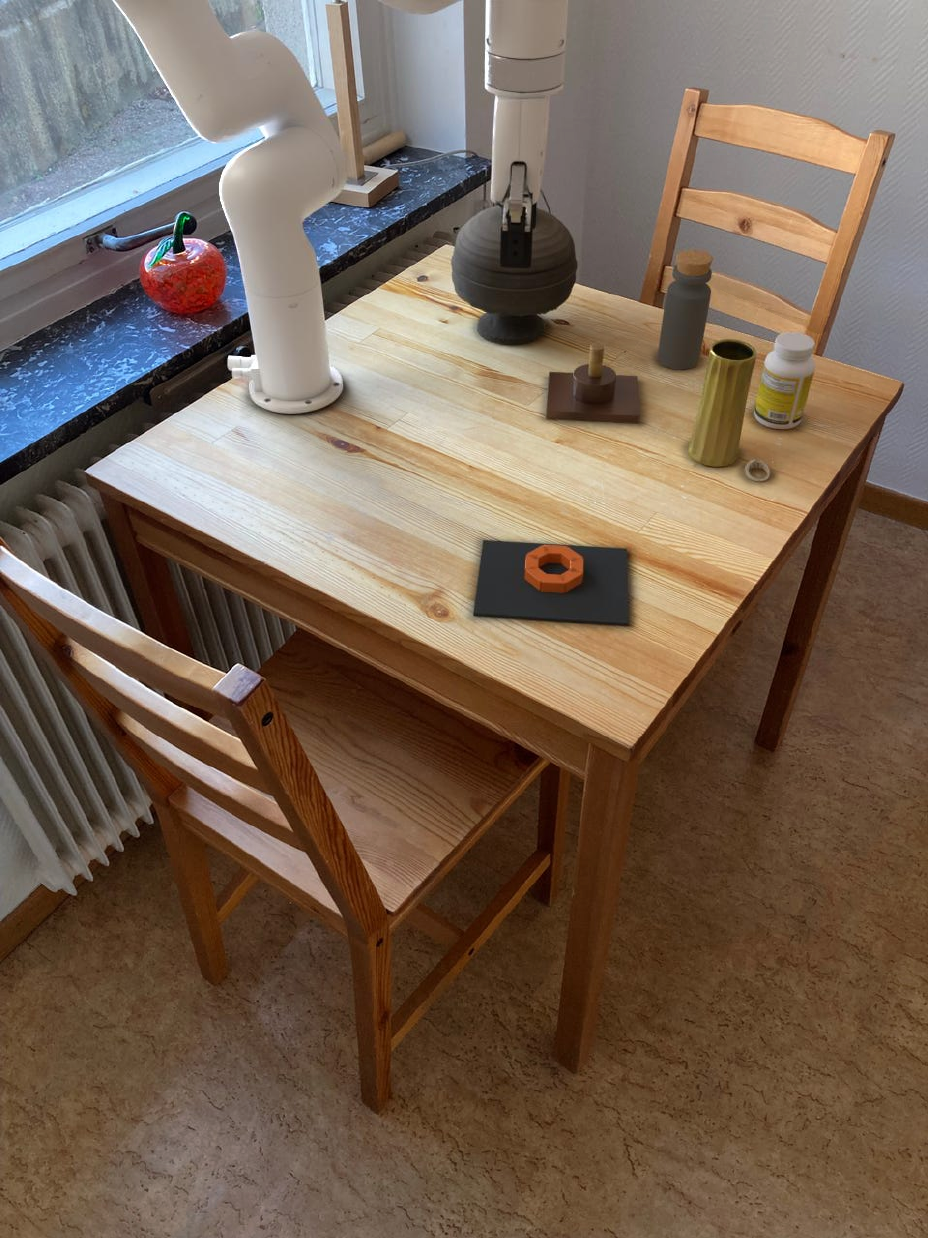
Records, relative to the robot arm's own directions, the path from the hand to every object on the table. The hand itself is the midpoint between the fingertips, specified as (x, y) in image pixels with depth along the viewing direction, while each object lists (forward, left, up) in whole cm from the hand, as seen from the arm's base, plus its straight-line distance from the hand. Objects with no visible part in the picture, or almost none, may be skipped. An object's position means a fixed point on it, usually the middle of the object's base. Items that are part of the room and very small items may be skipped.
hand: (518, 246), depth 106 cm
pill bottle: (+34, +11, -26) cm, 44 cm away
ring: (+30, -2, -26) cm, 40 cm away
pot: (-2, +32, -26) cm, 42 cm away
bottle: (+22, +25, -26) cm, 43 cm away
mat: (+6, -24, -26) cm, 36 cm away
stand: (+10, +13, -26) cm, 31 cm away
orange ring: (+6, -23, -26) cm, 35 cm away
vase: (+25, +2, -26) cm, 36 cm away
